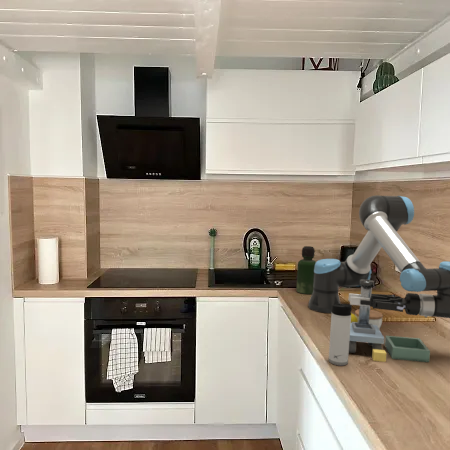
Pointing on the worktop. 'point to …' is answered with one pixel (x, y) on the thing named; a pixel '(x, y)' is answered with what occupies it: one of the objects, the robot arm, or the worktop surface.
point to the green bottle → (306, 271)
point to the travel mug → (340, 334)
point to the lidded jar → (372, 317)
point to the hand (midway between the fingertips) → (349, 298)
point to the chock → (379, 355)
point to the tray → (407, 348)
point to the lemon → (353, 318)
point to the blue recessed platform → (365, 336)
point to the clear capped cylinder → (365, 293)
